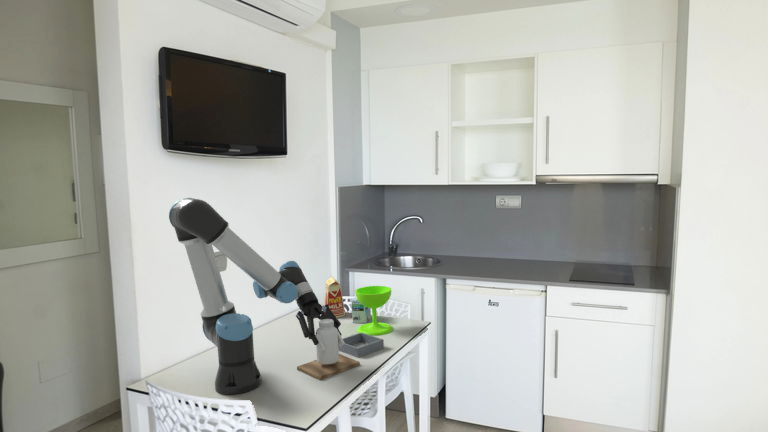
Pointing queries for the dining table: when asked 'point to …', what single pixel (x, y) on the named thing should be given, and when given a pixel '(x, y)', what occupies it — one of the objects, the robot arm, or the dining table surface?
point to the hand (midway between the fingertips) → (333, 348)
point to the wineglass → (374, 308)
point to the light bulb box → (360, 312)
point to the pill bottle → (328, 342)
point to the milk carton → (334, 297)
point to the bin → (371, 346)
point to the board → (328, 367)
